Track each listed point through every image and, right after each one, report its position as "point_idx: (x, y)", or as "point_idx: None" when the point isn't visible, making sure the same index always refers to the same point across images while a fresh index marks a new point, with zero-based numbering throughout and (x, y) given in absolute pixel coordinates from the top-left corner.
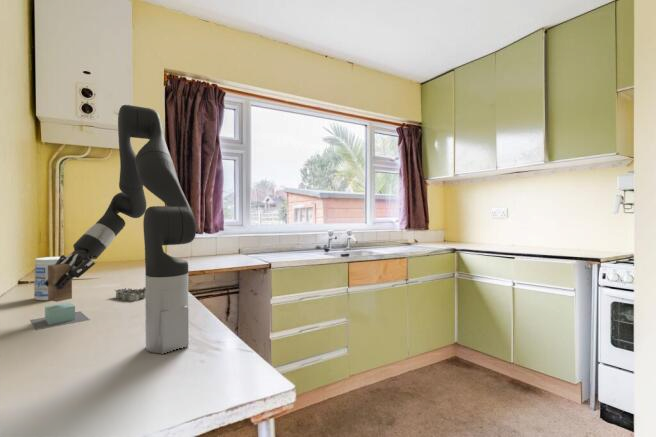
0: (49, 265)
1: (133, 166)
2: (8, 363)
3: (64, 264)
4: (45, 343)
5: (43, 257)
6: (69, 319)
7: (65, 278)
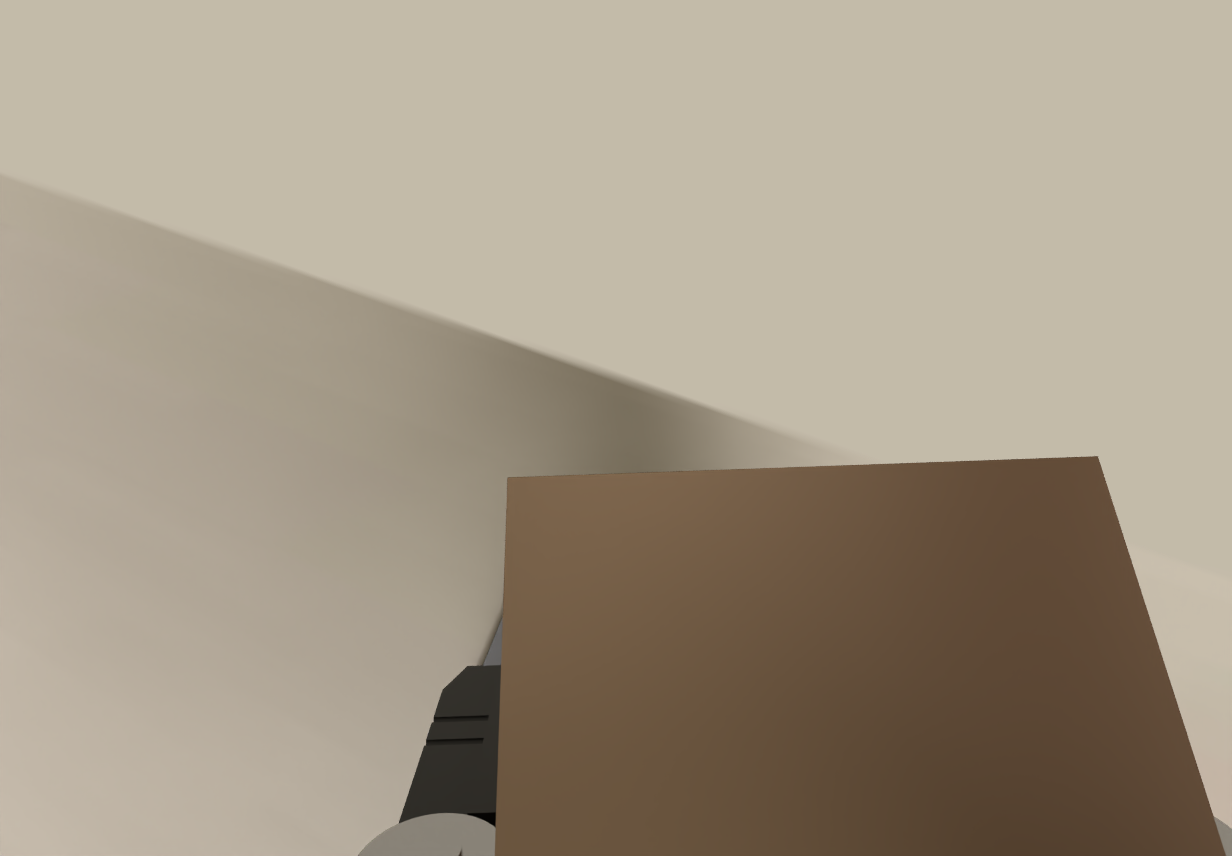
0: (1051, 487)
1: None
2: (9, 189)
3: None
4: (102, 439)
5: None
6: None
7: (408, 803)
